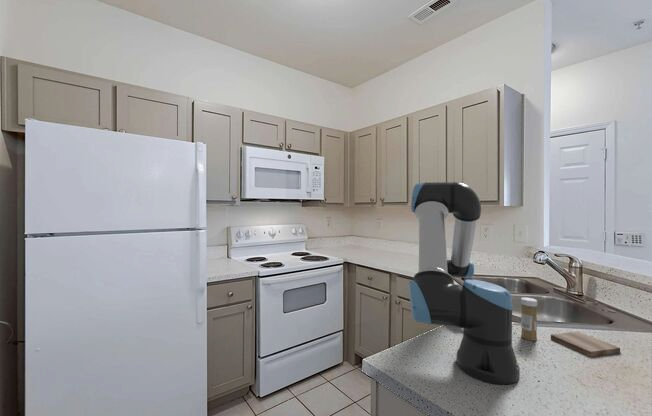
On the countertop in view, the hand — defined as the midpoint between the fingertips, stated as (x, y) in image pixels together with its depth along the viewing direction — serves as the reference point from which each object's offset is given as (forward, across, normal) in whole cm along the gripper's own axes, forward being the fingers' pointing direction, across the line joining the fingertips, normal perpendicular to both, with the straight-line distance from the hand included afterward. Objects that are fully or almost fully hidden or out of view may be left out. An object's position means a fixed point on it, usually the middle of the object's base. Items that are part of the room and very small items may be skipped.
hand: (499, 308), depth 105 cm
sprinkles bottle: (+10, 0, -7) cm, 12 cm away
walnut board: (+22, -9, -7) cm, 25 cm away
